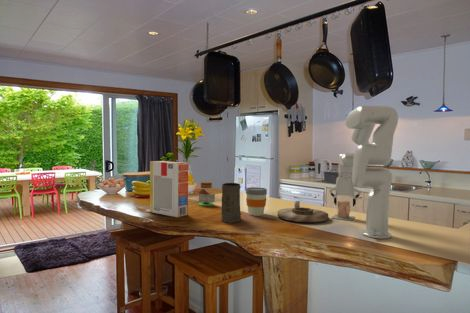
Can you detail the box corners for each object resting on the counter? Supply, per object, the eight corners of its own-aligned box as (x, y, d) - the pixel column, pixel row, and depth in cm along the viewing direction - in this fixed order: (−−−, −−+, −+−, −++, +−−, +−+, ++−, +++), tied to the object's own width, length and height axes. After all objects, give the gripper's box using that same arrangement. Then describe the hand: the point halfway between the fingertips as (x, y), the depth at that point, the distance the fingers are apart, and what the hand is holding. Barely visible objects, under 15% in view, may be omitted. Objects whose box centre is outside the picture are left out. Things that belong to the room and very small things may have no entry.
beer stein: (238, 223, 173) (239, 185, 172) (218, 222, 175) (219, 184, 174) (244, 217, 188) (244, 182, 187) (225, 216, 190) (226, 181, 190)
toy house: (193, 203, 228) (193, 181, 227) (211, 202, 233) (211, 181, 232) (199, 206, 217) (199, 183, 216) (217, 205, 222) (217, 183, 222)
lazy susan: (333, 214, 194) (333, 203, 194) (320, 224, 170) (320, 212, 170) (287, 209, 208) (288, 199, 208) (269, 217, 184) (270, 206, 184)
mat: (351, 221, 184) (351, 220, 184) (331, 218, 189) (331, 217, 189) (354, 217, 194) (354, 216, 194) (335, 215, 199) (335, 214, 199)
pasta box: (187, 214, 192) (188, 162, 191) (177, 217, 186) (178, 163, 184) (159, 209, 205) (160, 160, 204) (149, 211, 199) (150, 161, 197)
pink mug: (335, 216, 194) (335, 200, 194) (345, 215, 195) (346, 200, 195) (343, 219, 185) (343, 203, 185) (353, 219, 187) (354, 203, 186)
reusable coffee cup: (255, 217, 189) (255, 190, 189) (240, 213, 199) (241, 188, 198) (270, 214, 197) (271, 189, 197) (256, 211, 207) (256, 186, 206)
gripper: (361, 175, 191) (360, 205, 192) (329, 174, 196) (329, 203, 197) (361, 176, 184) (361, 207, 184) (329, 175, 189) (328, 205, 190)
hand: (344, 205), depth 191 cm, fingers open, 9 cm apart
